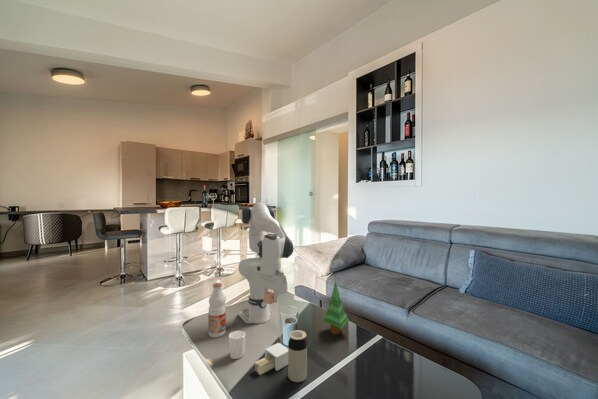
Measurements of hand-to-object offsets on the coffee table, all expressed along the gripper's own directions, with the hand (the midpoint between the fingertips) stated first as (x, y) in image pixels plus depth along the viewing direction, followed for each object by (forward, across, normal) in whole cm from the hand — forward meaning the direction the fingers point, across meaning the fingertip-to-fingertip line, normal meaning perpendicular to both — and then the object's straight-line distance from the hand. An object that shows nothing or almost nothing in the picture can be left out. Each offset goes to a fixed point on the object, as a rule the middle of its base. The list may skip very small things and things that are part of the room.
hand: (271, 298), depth 123 cm
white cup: (+29, +14, +10) cm, 34 cm away
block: (+2, 0, +1) cm, 2 cm away
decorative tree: (+29, -4, -43) cm, 52 cm away
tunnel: (+29, -4, -1) cm, 29 cm away
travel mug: (+29, -17, -1) cm, 34 cm away
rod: (+29, -4, +1) cm, 30 cm away
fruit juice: (+29, +40, +8) cm, 50 cm away
